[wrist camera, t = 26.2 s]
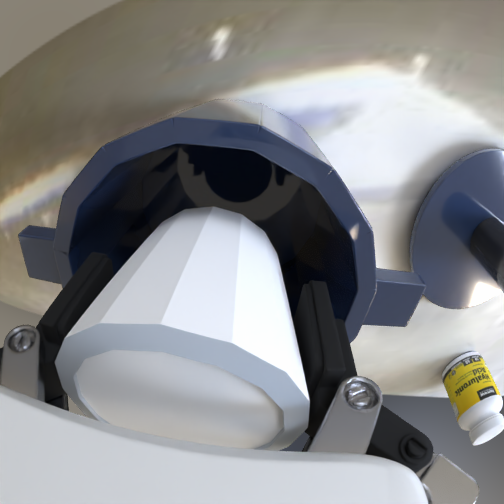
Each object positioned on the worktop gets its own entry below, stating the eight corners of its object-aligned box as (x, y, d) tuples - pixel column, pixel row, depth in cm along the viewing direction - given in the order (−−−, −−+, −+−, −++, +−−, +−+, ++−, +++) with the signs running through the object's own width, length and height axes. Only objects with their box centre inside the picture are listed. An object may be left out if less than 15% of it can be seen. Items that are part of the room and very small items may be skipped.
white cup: (326, 280, 13) (358, 429, 7) (209, 347, 16) (188, 474, 10) (216, 152, 11) (150, 262, 5) (104, 257, 13) (25, 379, 7)
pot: (97, 96, 16) (-10, 126, 8) (390, 128, 17) (481, 177, 9) (107, 266, 23) (49, 357, 14) (342, 295, 23) (370, 401, 15)
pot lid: (437, 120, 16) (496, 143, 11) (550, 174, 16) (597, 205, 11) (381, 295, 23) (406, 354, 18) (495, 303, 23) (524, 347, 18)
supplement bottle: (480, 342, 26) (515, 413, 18) (479, 366, 28) (508, 430, 20) (438, 364, 28) (467, 440, 19) (442, 386, 30) (465, 454, 22)
